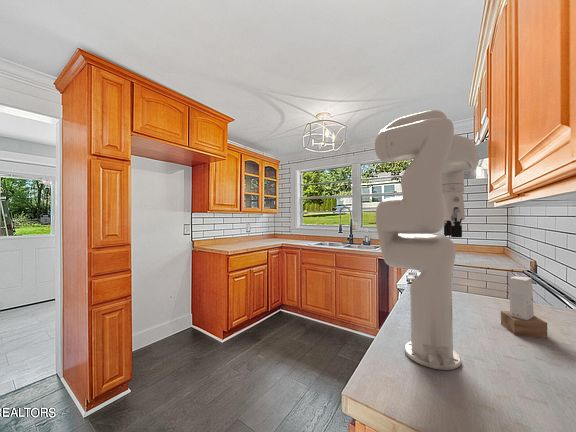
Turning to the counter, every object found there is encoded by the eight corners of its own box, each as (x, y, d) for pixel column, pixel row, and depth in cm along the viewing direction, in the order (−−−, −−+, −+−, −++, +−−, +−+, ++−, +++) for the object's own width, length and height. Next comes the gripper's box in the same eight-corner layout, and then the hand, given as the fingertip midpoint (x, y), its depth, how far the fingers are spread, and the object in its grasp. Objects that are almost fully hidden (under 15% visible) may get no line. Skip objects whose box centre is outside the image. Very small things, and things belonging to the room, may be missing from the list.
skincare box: (528, 320, 76) (527, 280, 76) (509, 316, 80) (508, 277, 80) (534, 316, 79) (533, 277, 79) (515, 312, 83) (515, 275, 83)
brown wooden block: (547, 338, 74) (547, 322, 74) (514, 334, 77) (514, 320, 77) (530, 326, 82) (530, 313, 82) (501, 324, 84) (500, 310, 84)
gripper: (472, 186, 83) (473, 238, 83) (456, 191, 100) (457, 235, 99) (446, 187, 86) (446, 237, 86) (435, 192, 102) (435, 234, 102)
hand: (452, 236), depth 93 cm, fingers open, 9 cm apart
